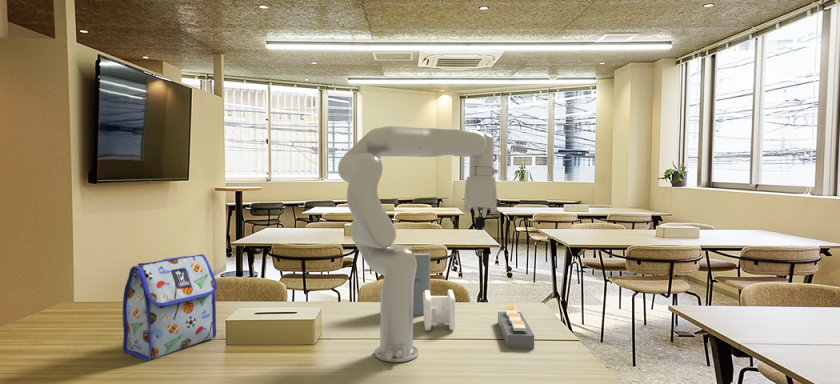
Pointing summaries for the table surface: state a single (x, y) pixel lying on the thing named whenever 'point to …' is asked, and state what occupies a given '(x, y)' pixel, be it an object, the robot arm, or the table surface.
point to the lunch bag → (168, 306)
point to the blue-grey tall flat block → (420, 281)
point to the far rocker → (510, 309)
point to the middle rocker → (514, 317)
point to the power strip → (515, 333)
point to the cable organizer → (439, 309)
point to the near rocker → (518, 326)
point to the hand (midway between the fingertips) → (479, 229)
